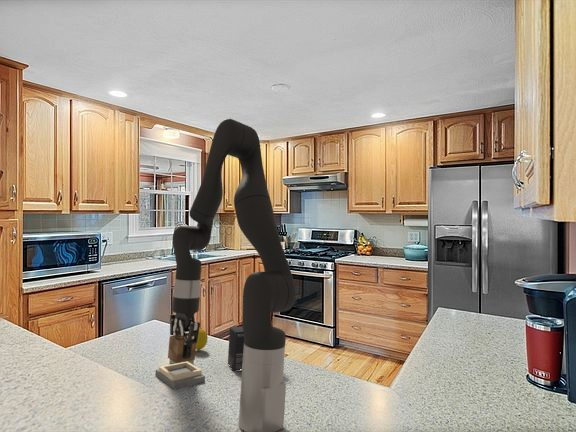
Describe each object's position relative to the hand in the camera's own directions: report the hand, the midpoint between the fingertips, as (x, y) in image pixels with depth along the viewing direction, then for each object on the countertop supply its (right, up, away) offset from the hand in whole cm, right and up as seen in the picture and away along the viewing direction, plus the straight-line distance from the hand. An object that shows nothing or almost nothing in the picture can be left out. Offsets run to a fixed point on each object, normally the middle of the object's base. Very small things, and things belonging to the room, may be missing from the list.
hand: (181, 354), depth 100 cm
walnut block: (0, -1, 0) cm, 1 cm away
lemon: (-1, -8, +24) cm, 26 cm away
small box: (+18, -9, +12) cm, 24 cm away
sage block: (-4, -7, +11) cm, 14 cm away
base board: (0, -6, -1) cm, 6 cm away
